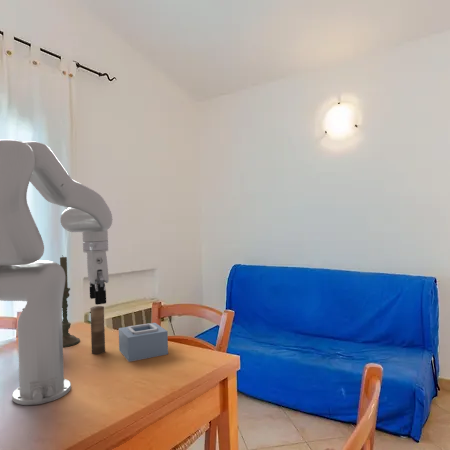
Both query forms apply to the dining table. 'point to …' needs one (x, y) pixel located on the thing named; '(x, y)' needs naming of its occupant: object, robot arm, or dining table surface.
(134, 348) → the square peg hole block
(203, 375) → the dining table surface
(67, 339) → the candlestick holder
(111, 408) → the dining table surface
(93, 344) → the walnut dowel
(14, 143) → the robot arm
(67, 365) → the dining table surface
